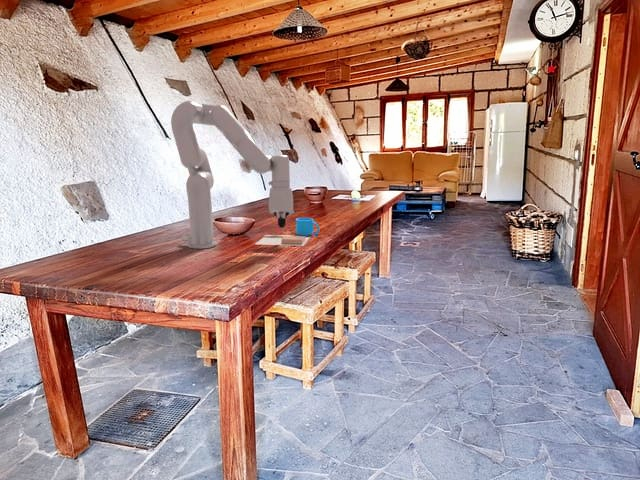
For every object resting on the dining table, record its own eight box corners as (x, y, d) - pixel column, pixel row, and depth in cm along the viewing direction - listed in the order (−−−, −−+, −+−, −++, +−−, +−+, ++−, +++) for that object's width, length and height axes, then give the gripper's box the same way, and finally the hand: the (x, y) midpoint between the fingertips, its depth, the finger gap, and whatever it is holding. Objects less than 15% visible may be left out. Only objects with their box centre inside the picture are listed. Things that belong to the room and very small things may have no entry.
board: (254, 246, 200) (254, 244, 200) (265, 238, 218) (265, 235, 217) (303, 248, 197) (303, 245, 197) (310, 239, 215) (310, 237, 214)
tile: (281, 239, 200) (302, 239, 199) (284, 235, 207) (304, 236, 206) (281, 243, 201) (302, 244, 200) (284, 240, 208) (305, 240, 206)
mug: (292, 236, 221) (292, 219, 219) (302, 233, 228) (301, 217, 226) (314, 239, 215) (314, 221, 214) (323, 236, 222) (323, 219, 221)
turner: (262, 237, 213) (262, 236, 212) (265, 235, 217) (265, 234, 217) (297, 238, 210) (297, 237, 210) (299, 236, 215) (299, 235, 215)
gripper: (261, 185, 196) (262, 228, 200) (296, 185, 194) (297, 229, 198) (265, 183, 204) (267, 225, 207) (299, 183, 202) (300, 225, 205)
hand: (281, 227), depth 203 cm, fingers closed
